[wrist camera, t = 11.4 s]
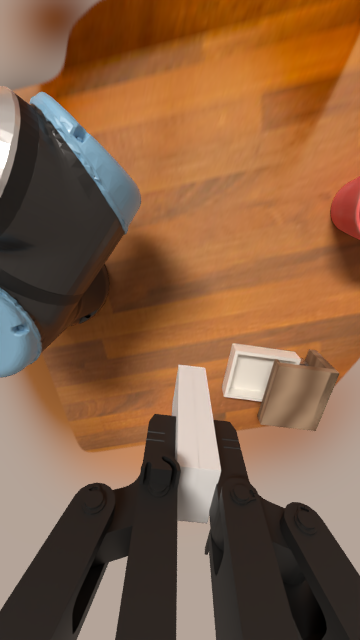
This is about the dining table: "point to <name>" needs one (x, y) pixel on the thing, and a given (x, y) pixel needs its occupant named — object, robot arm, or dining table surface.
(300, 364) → the small stepped grey block
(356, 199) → the flower pot
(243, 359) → the tray
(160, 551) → the robot arm
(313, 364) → the shelf
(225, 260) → the dining table surface
